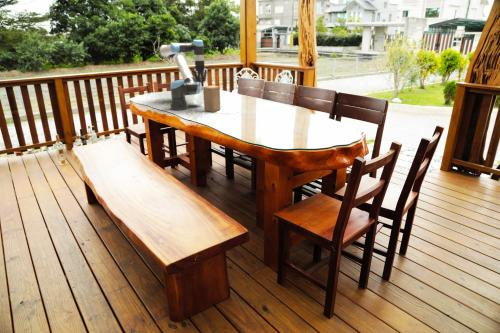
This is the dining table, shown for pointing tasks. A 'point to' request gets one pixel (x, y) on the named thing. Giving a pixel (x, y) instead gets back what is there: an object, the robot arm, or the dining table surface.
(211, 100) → the wooden block
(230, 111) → the mat
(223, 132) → the dining table surface
